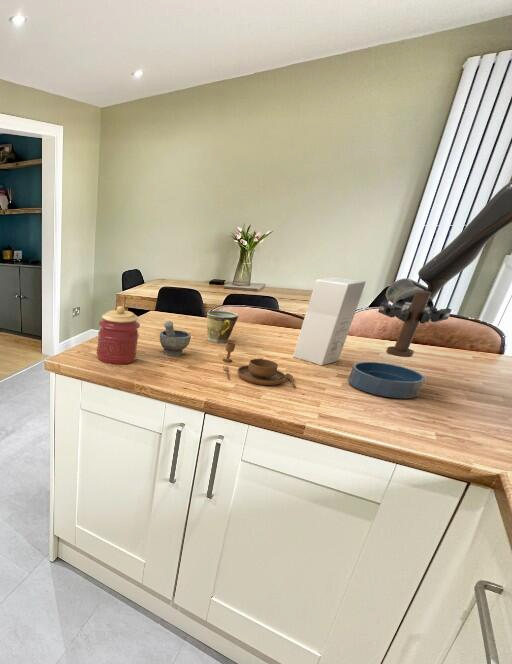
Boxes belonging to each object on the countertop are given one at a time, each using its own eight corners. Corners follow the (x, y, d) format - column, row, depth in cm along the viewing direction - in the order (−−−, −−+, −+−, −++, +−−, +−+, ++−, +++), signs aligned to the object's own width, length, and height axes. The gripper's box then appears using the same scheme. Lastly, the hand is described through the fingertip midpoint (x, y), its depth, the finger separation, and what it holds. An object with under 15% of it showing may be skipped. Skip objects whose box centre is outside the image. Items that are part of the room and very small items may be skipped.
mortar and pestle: (167, 346, 143) (172, 313, 138) (192, 353, 136) (199, 319, 131) (149, 353, 137) (153, 319, 132) (174, 361, 130) (180, 325, 125)
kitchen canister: (121, 368, 126) (127, 313, 119) (88, 357, 135) (91, 306, 128) (143, 357, 134) (150, 305, 126) (110, 348, 143) (115, 299, 135)
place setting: (227, 382, 114) (231, 363, 111) (220, 358, 131) (223, 341, 128) (299, 390, 108) (306, 370, 105) (282, 364, 125) (287, 346, 122)
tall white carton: (309, 352, 133) (333, 276, 123) (338, 360, 126) (366, 281, 116) (292, 357, 130) (315, 279, 120) (321, 365, 123) (348, 284, 112)
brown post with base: (411, 353, 103) (437, 290, 96) (412, 358, 99) (439, 294, 93) (385, 349, 106) (409, 288, 99) (385, 354, 102) (410, 292, 96)
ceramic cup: (198, 335, 153) (203, 310, 149) (226, 336, 152) (232, 310, 147) (210, 346, 141) (215, 319, 137) (240, 347, 140) (246, 319, 136)
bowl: (415, 386, 108) (423, 369, 106) (418, 405, 98) (427, 387, 96) (348, 374, 117) (354, 358, 114) (345, 390, 107) (351, 373, 105)
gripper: (382, 288, 111) (381, 299, 99) (455, 293, 102) (463, 306, 90) (373, 314, 114) (371, 328, 102) (442, 322, 105) (449, 338, 93)
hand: (414, 318), depth 96 cm, fingers closed on brown post with base, 2 cm apart
